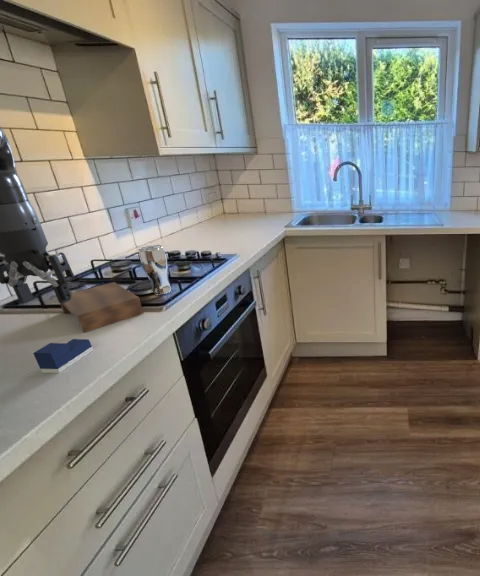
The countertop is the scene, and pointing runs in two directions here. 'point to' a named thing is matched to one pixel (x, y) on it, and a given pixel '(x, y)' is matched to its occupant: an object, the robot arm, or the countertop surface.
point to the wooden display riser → (102, 306)
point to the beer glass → (156, 268)
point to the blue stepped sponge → (61, 355)
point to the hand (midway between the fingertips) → (46, 301)
